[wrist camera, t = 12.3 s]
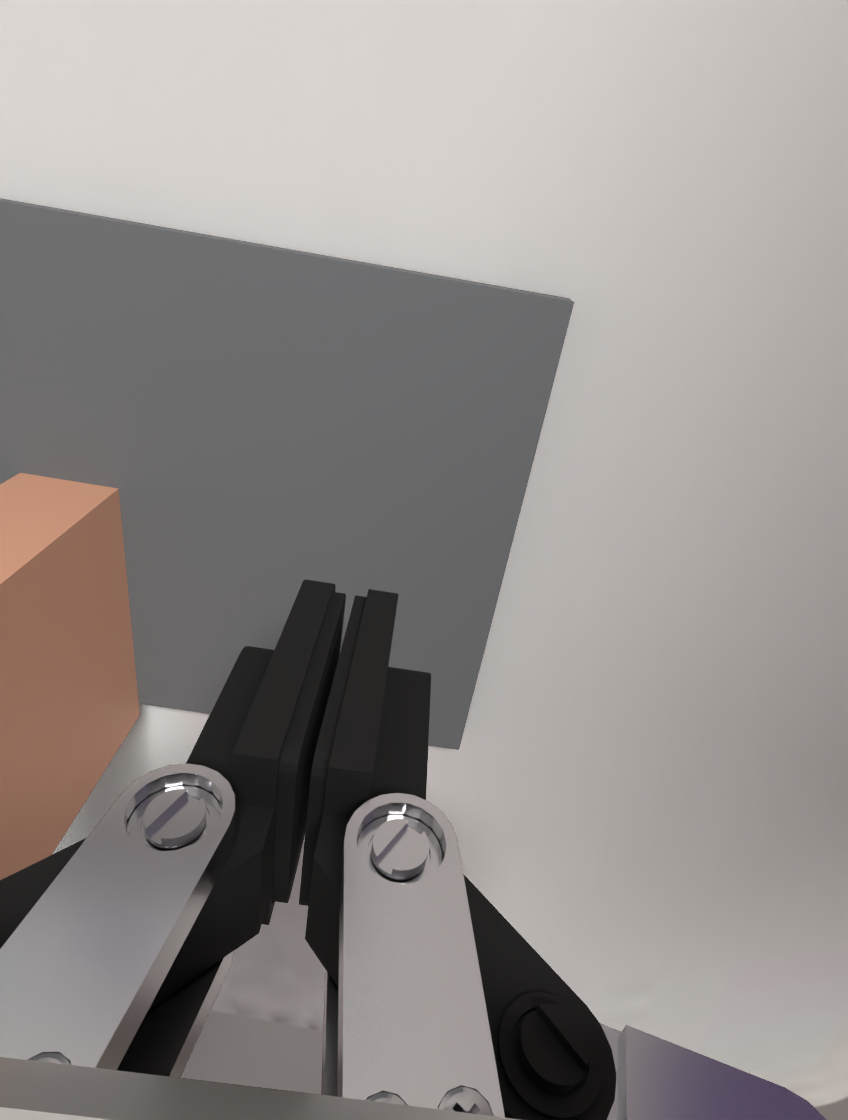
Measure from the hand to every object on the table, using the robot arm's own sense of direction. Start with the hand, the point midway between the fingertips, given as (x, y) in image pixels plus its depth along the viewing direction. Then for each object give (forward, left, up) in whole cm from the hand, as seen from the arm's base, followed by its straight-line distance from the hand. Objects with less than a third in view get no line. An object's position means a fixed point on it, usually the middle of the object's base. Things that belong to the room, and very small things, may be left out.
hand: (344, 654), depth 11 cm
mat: (+7, 0, -4) cm, 8 cm away
